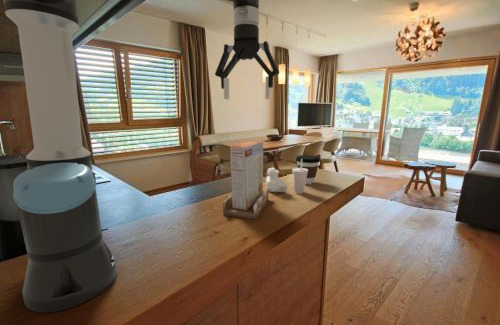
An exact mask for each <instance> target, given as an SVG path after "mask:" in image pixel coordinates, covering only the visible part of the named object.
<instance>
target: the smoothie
mask: <svg viewBox="0 0 500 325" xmlns="http://www.w3.org/2000/svg"><path fill="white" fill-rule="evenodd" d="M291 172H292V176H293V177H292V178H293V179H292V180H293V190H294V193H295V192H296V193H299V194H298V195H303V194H304V193H305V189H306V188H305V187H306V184H305V183H306V178H307V173H308V169H305V168H302V159H301V168H297V167H293V168H292V169H291ZM296 193H295V194H296ZM302 193H303V194H302Z"/></svg>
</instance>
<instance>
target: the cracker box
mask: <svg viewBox="0 0 500 325" xmlns="http://www.w3.org/2000/svg"><path fill="white" fill-rule="evenodd" d="M229 150H230V151H229V156H230V157H229V158H230V159H229V160H230V181H231V182H230V184H231V187H230V188H231V194H232V208H235V209H241V210H246V211H247V210H248V209H249V208H251V207H252V206H253V205H254V204H255V203H256V201H257V200H258V199H259V197H260V196H261V194H262V193H263V192H264V141H260V140H249V141H245V142H241V143H238V144H234V145H232V146H229Z"/></svg>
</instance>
